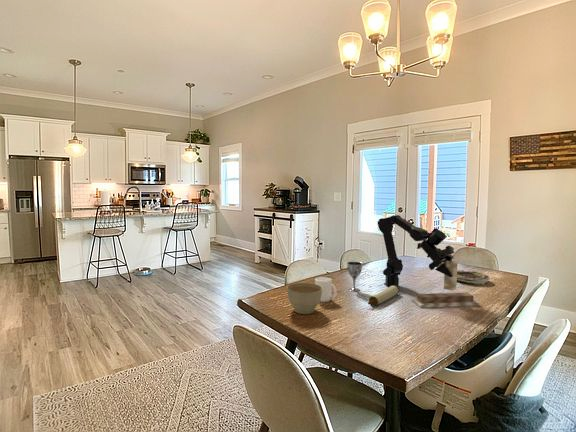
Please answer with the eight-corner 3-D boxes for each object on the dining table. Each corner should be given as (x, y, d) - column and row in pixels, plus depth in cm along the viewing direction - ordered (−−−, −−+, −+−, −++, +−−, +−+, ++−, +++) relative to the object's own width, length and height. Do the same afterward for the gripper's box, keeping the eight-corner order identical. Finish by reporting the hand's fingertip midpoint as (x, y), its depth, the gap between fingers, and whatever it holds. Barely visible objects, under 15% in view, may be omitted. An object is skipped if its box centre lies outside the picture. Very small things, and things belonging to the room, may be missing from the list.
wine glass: (352, 292, 181) (353, 265, 179) (343, 288, 188) (344, 262, 186) (364, 290, 184) (365, 263, 183) (355, 287, 191) (355, 261, 190)
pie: (482, 276, 217) (483, 268, 216) (505, 289, 190) (506, 281, 189) (437, 275, 220) (437, 267, 219) (453, 288, 193) (453, 279, 192)
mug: (340, 300, 168) (341, 280, 167) (331, 305, 162) (331, 284, 161) (321, 295, 176) (321, 276, 175) (311, 299, 170) (311, 279, 169)
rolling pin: (373, 310, 156) (374, 299, 156) (363, 307, 160) (363, 296, 160) (403, 293, 180) (403, 284, 180) (393, 291, 184) (393, 282, 184)
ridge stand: (420, 307, 159) (420, 298, 159) (411, 301, 168) (411, 292, 168) (479, 305, 162) (480, 296, 162) (467, 299, 171) (468, 291, 171)
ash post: (443, 288, 165) (444, 262, 164) (446, 286, 169) (448, 261, 167) (453, 290, 162) (454, 264, 161) (456, 288, 165) (457, 262, 164)
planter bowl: (311, 320, 144) (312, 295, 143) (280, 312, 152) (280, 289, 152) (327, 308, 158) (328, 285, 157) (298, 302, 166) (298, 280, 165)
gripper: (436, 242, 160) (460, 269, 153) (450, 238, 173) (472, 263, 166) (419, 256, 166) (441, 283, 159) (434, 251, 179) (455, 276, 172)
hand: (453, 276), depth 164 cm, fingers closed on ash post, 4 cm apart
